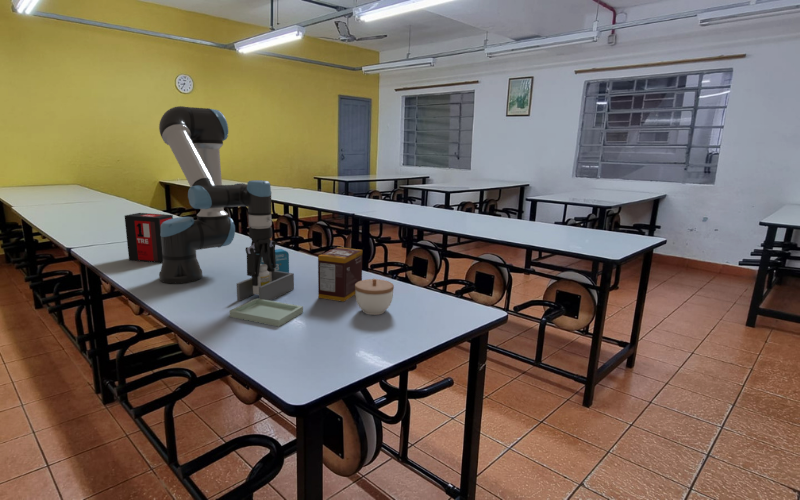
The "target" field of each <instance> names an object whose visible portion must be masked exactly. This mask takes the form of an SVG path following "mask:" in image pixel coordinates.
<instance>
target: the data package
mask: <svg viewBox="0 0 800 500" xmlns="http://www.w3.org/2000/svg"><path fill="white" fill-rule="evenodd" d="M258 255H259V254H258ZM275 259H276V268H273V269H275V271H280V272H287V273H290V255H289V252H288V250H284V249H283V248H277V249H276V248H275ZM260 264H264V262H263V258H262V257H261V263H260ZM272 265H273V264H272Z"/></svg>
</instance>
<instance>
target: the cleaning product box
mask: <svg viewBox="0 0 800 500" xmlns="http://www.w3.org/2000/svg"><path fill="white" fill-rule="evenodd" d="M173 218H174V215H173V214H165V213H163V214H161V213H160V214H159V213H147V212H135V213H132V214H131V213H130V214H125V215H124V225H125V233H126V243H127V244H126V245H127V252H128V261H132V262H144V263H153V264H162V263H163V253H162V242H161V236H160V233H161V224H162V223H163V222H164V221H166V220H169V219H173Z"/></svg>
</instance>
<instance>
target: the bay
mask: <svg viewBox="0 0 800 500" xmlns="http://www.w3.org/2000/svg"><path fill="white" fill-rule="evenodd" d="M294 289H295V275H294V273H293V272H289V273H287V272H280V271H274V272H273V271H272V282H270V283H267V284H265V285H263V286H260V287H259V295H258V299H264V300H270V301H274V300H275V299H277V298H278V297H281V296H282V295H284V294H287V293H289V292H290V291H293V290H294ZM253 295H255V294H253V285H252V277H249V278H247V279H245V280H242V281H239V282H237V283H236V299H237V301H242V300H245V299H247V298H250V297H251V296H253Z"/></svg>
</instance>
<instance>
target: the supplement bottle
mask: <svg viewBox="0 0 800 500" xmlns="http://www.w3.org/2000/svg"><path fill="white" fill-rule="evenodd" d="M259 276H260V278H261V286H263V285H265V284H267V283H270V273H269V271H267V265H266V264H260V270H259Z"/></svg>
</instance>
